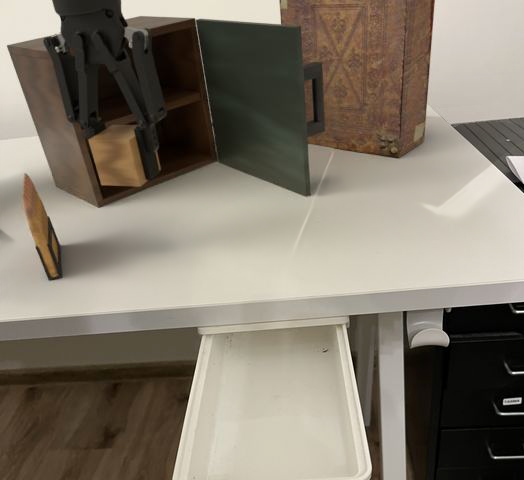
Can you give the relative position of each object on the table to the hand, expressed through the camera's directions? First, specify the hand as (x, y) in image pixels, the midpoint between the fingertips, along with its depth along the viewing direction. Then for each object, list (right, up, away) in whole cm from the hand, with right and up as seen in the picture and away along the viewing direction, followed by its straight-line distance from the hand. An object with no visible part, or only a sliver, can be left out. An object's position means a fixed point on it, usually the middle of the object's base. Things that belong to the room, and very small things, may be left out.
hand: (131, 174), depth 75 cm
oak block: (0, 0, 0) cm, 0 cm away
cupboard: (-7, +11, +33) cm, 35 cm away
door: (+20, +8, +25) cm, 33 cm away
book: (+36, +17, +33) cm, 52 cm away
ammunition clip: (-13, -11, +6) cm, 18 cm away
